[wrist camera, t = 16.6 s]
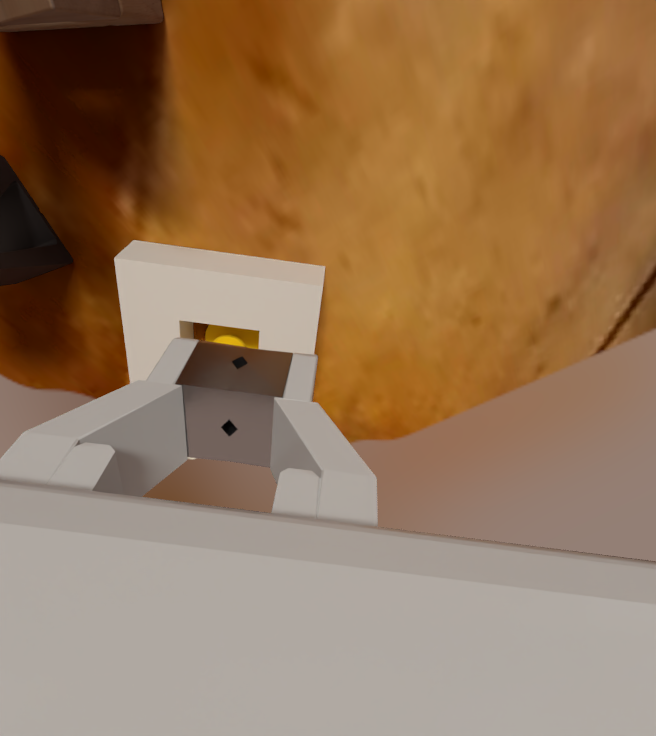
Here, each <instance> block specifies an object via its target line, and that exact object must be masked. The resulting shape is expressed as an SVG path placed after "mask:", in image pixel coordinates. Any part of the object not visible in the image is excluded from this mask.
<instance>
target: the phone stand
mask: <svg viewBox="0 0 656 736" xmlns="http://www.w3.org/2000/svg"><path fill="white" fill-rule="evenodd" d="M71 263H73V258H72V257H71V255H70V254H69V253H68V251H67V250H66V248H65V247H64V245H63V244H62V242H61V241H60V239H59V238H58V236H57V235H56V233H55V232H54V230H53V229H52V227H51V226H50V224H49V223H48V221H47V220H46V218H45V217H44V215H43V214H42V213H40V212H39V208H38V207H37V205H36V204H35V202H34V201H33V199H32V198H31V196H30V195H29V193H28V192H27V190H26V189H25V187H24V186H23V184H22V183H21V181H20V180H19V178H18V177H17V175H16V174H15V172H14V171H13V169H12V168H11V166H10V165H9V163H8V162H7V161H6V159H5V158H4V157H3V156H1V155H0V286H1V285H10V284H16V283H19V282H22V281H25V280H27V279H30V278H33V277H35V276H38V275H41V274H44V273H46V272H49V271H52V270H54V269H57V268H60V267H63V266H65V265H68V264H71Z"/></svg>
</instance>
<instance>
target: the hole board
mask: <svg viewBox="0 0 656 736" xmlns="http://www.w3.org/2000/svg"><path fill="white" fill-rule="evenodd" d="M114 262H115V269H116V277H117V285H118V292H119V300H120V308H121V315H122V323H123V331H124V338H125V346H126V354H127V361H128V369H129V377H130V384H131V383H133V382H135V381H137V380H144V381H146V380H147V378H148V377H149V375H150V374H151V372H152V371H153V369H154V367H155V366H156V364H157V363H158V361H159V360H160V358H161V357H162V355H163V354H164V352H165V350H166V349H167V347H168V346H169V344H170V343H171V341H172V340H173V339H174V338H177V337H180V338H188V339H194V328H193V322H196V323H204V324H211V325H219V326H226V327H234V328H242V329H249V330H257V331H259V349H262V350H271V351H281V352H290V353H293V354H294V353H303V354H313V355H314V350H315V343H316V335H317V328H318V320H319V313H320V306H321V298H322V291H323V283H324V274H325V266H318V265H311V264H304V263H297V262H289V261H282V260H275V259H268V258H260V257H253V256H246V255H239V254H231V253H224V252H217V251H210V250H202V249H195V248H188V247H180V246H173V245H166V244H159V243H151V242H144V241H137V240H133V241H132V242H131V243H130V244H129V245H128V246H127V247H126V248H124V249H123V250H122V251H121V252H120V253H119V254H118V255H117V256H116V257H115V258H114Z"/></svg>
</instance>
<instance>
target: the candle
mask: <svg viewBox="0 0 656 736" xmlns="http://www.w3.org/2000/svg"><path fill="white" fill-rule="evenodd" d="M205 340H206V341H209V342H216V343H222V344H229V345H236V346H243V347H248V348H252V349H259V331H257V330H249V329H242V328H234V327H226V326H219V325H211V324H209V325H208V327H207V329H206V333H205ZM187 458H188V459H196V458H191V457H187Z"/></svg>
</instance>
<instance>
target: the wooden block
mask: <svg viewBox="0 0 656 736" xmlns="http://www.w3.org/2000/svg"><path fill="white" fill-rule="evenodd" d="M162 21H163V11H162V6H161V0H0V32H18V31H36V30H53V29H70V28H87V27H104V26H108V25H113V26H121V25H138V24H155V23H161V22H162Z"/></svg>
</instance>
